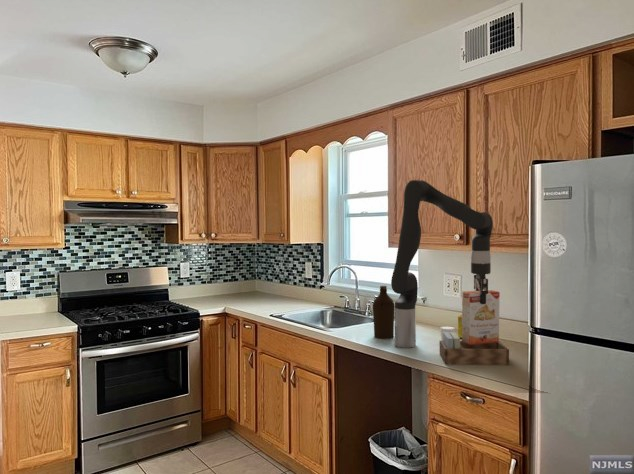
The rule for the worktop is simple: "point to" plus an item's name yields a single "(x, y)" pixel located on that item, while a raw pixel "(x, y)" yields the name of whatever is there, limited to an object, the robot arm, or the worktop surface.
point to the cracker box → (480, 318)
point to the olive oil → (383, 315)
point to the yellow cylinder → (460, 326)
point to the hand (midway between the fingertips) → (480, 302)
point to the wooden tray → (476, 354)
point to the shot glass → (446, 330)
